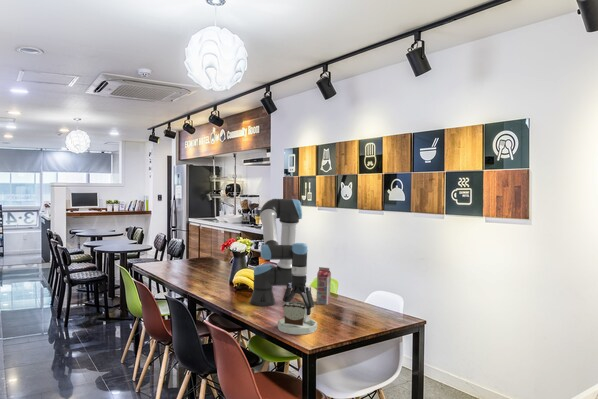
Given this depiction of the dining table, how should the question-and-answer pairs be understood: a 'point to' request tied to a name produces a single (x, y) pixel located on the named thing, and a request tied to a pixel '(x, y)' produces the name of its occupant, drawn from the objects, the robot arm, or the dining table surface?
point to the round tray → (298, 327)
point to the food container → (294, 313)
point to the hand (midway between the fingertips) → (297, 318)
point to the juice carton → (323, 286)
